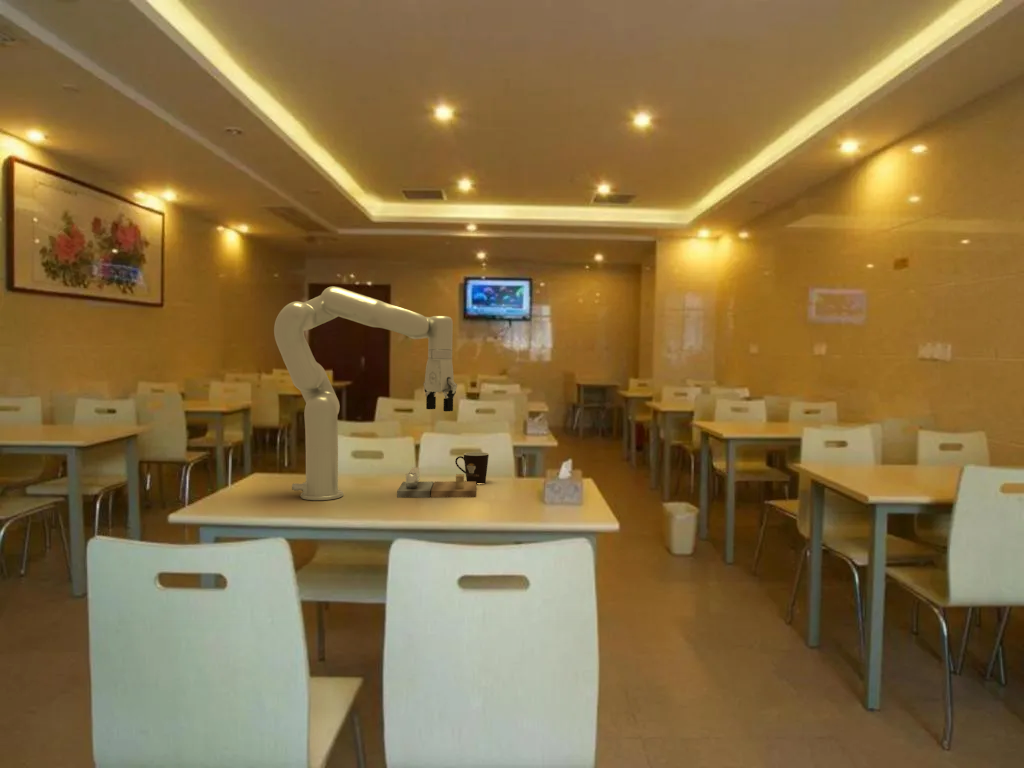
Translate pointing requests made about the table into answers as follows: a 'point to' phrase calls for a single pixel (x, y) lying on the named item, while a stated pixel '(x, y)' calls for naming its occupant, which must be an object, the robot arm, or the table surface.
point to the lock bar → (412, 478)
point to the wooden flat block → (440, 489)
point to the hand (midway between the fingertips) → (439, 410)
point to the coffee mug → (475, 466)
